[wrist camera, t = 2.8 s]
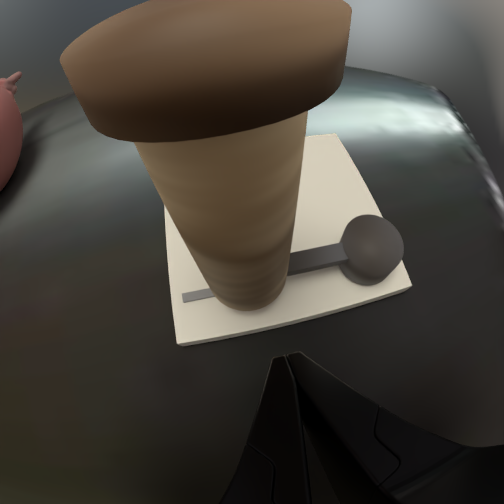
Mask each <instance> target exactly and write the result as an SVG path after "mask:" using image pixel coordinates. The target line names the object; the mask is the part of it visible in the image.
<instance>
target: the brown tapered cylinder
mask: <svg viewBox="0 0 504 504" xmlns="http://www.w3.org/2000/svg"><path fill="white" fill-rule="evenodd" d="M351 13H352V9H351V7H350V6H349V4H347V3H346V2H344V1H343V0H150V1H147V2H144V3H141V4H139V5H136V6H134V7H131V8H129V9H127V10H124V11H122V12H120V13H118V14H116V15H114V16H112V17H110V18H108V19H106V20H104V21H102V22H101V23H99V24H98V25H96V26H94V27H92V28H91V29H89V30H88V31H87V32H85V33H84V34H82V35H81V36H80V37H78V38H77V39H76V40H74V41H73V42H72V43H71V44H70V45H69V46H68V47H67V48H66V49H65V50H64V52H63V54H62V55H61V58H60V62H61V65H62V67H63V69H64V71H65V73H66V76H67V78H68V80H69V82H70V84H71V86H72V88H73V90H74V92H75V94H76V96H77V98H78V100H79V102H80V104H81V106H82V108H83V110H84V112H85V114H86V116H87V118H88V120H89V121H90V123H91V125H92V126H93V127H94V128H95V129H96V130H97V131H98V132H100V133H102V134H104V135H105V136H108V137H111V138H114V139H117V140H123V141H130V142H134V143H135V146H136V148H137V150H138V152H139V154H140V156H141V158H142V160H143V162H144V165H145V167H146V169H147V171H148V173H149V175H150V177H151V179H152V181H153V183H154V185H155V187H156V189H157V191H158V193H159V195H160V197H161V199H162V201H163V203H164V205H165V207H166V209H167V211H168V212H169V214H170V216H171V218H172V220H173V222H174V224H175V226H176V228H177V230H178V231H179V233H180V235H181V237H182V239H183V241H184V243H185V245H186V246H187V248H188V250H189V252H190V254H191V255H192V257H193V259H194V261H195V263H196V265H197V266H198V268H199V270H200V272H201V273H202V275H203V277H204V279H205V280H206V282H207V284H208V286H209V287H210V289H211V291H212V293H213V294H214V296H215V297H216V298H217V299H218V300H219V301H220V302H221V303H222V304H224V305H226V306H227V307H229V308H232V309H235V310H239V311H253V310H257V309H261V308H263V307H265V306H267V305H269V304H270V303H272V302H273V301H274V300H275V299H276V298H277V297H278V296H279V295H280V293H281V292H282V290H283V288H284V285H285V282H286V278H287V276H292V275H297V274H301V273H306V272H310V271H315V270H319V269H324V268H328V267H333V266H337V265H339V267H340V269H341V270H342V272H343V273H344V274H345V275H346V276H347V277H348V278H349V279H350V280H352V281H353V282H355V283H358V284H361V285H375V284H378V283H380V282H382V281H383V280H384V279H385V278H386V277H387V276H388V275H389V274H390V273H391V272H392V271H393V270H394V269H395V268H396V267H397V266H398V265H399V263H400V262H401V260H402V257H403V252H404V246H403V241H402V238H401V236H400V234H399V232H398V231H397V229H396V228H395V227H394V226H393V225H392V224H391V223H390V222H389V221H387V220H386V219H384V218H382V217H379V216H376V215H370V214H366V215H360V216H357V217H355V218H353V219H352V220H351V221H350V222H349V223H348V224H347V226H346V228H345V230H344V232H343V235H342V237H341V239H340V242H339V243H336V244H331V245H326V246H321V247H316V248H311V249H307V250H302V251H297V252H292V253H290V252H291V245H292V238H293V231H294V224H295V217H296V209H297V202H298V194H299V186H300V178H301V170H302V161H303V152H304V143H305V134H306V124H307V114H308V110H310V109H312V108H314V107H316V106H317V105H319V104H321V103H322V102H324V101H325V100H327V99H328V98H329V97H330V96H331V95H333V94H334V93H335V91H336V90H337V89H338V87H339V86H340V84H341V81H342V79H343V73H344V67H345V60H346V53H347V46H348V38H349V30H350V22H351Z"/></svg>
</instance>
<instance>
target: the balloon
mask: <svg viewBox="0 0 504 504" xmlns="http://www.w3.org/2000/svg"><path fill="white" fill-rule="evenodd" d="M21 76H22V73H21V72H17V73H15V74H13V75H12V76H10V77H9V78H8V79H5V78H1V79H0V191H1V190H2V189H3V188H4V186H5V185H6V184H7V182H8V181H9V179H10V177H11V176H12V174H13V172H14V170H15V167H16V165H17V162H18V159H19V156H20V152H21V147H22V140H23V125H22V118H21V114H20V111H19V108H18V106H17V104H16V102H15V100H14V94H15V93H16V91H17V87H16V86H15V83H16V82H17V81H18V79H20V78H21Z"/></svg>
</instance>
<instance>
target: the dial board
mask: <svg viewBox="0 0 504 504" xmlns="http://www.w3.org/2000/svg"><path fill="white" fill-rule="evenodd" d="M366 214H370V215H376V216H379V217H382V215H381V213H380V211H379V209H378V207H377V205H376V203H375V201H374V199H373V197H372V196H371V194H370V192H369V190H368V188H367V186H366V184H365V182H364V181H363V179H362V177H361V175H360V173H359V172H358V170H357V168H356V166H355V165H354V163H353V161H352V159H351V158H350V156H349V154H348V153H347V151H346V149H345V148H344V146H343V144H342V143H341V141H340V140H339V138H338V136H337V135H336V133H335V134H325V135H315V136H307V137H305V143H304V152H303V161H302V170H301V178H300V186H299V194H298V202H297V209H296V217H295V224H294V231H293V238H292V245H291V252H290V253H292V252H297V251H302V250H307V249H311V248H316V247H321V246H326V245H331V244H336V243H339V242H340V239H341V237H342V235H343V232H344V230H345V228H346V226H347V224H348V223H349V222H350V221H351V220H352V219H353V218H355V217H357V216H360V215H366ZM382 218H383V217H382ZM165 226H166V243H167V257H168V269H169V280H170V290H171V299H172V308H173V316H174V324H175V332H176V339H177V344H179V345H181V346H188V345H194V344H200V343H206V342H211V341H217V340H222V339H227V338H232V337H237V336H242V335H247V334H252V333H256V332H261V331H265V330H270V329H274V328H278V327H283V326H287V325H291V324H295V323H299V322H303V321H307V320H311V319H315V318H318V317H322V316H326V315H329V314H333V313H337V312H340V311H344V310H347V309H350V308H354V307H357V306H361V305H364V304H367V303H370V302H374V301H377V300H380V299H383V298H386V297H389V296H392V295H395V294H398V293H401V292H404V291H406V290H407V289H408V288H410V287H411V286H412V284H411V282H410V279H409V277H408V274H407V271H406V269H405V267H404V264H403V262H402V260H401V262H400V263H399V265H398V266H397V267H396V268H395V269H394V270H393V271H392V272H391V273H390V274H389V275H388V276H387V277H386V278H385V279H384V280H383V281H382V282H380V283H378V284H375V285H361V284H358V283H355V282H353V281H352V280H350V279H349V278H348V277H347V276H346V275H345V274H344V273H343V272H342V270H341V269H340V267H339V265H337V266H333V267H328V268H324V269H319V270H315V271H310V272H306V273H301V274H297V275H292V276H287V278H286V282H285V285H284V288H283V290H282V292H281V293H280V295H279V296H278V297H277V298H276V299H275V300H274V301H273V302H272V303H270V304H269V305H267V306H265V307H263V308H261V309H257V310H253V311H239V310H235V309H232V308H229V307H227V306H226V305H224V304H222V303H221V302H220V301H219V300H218V299H217V298H216V297H215V296H214V294H213V293H212V291H211V289H210V287H209V286H208V284H207V282H206V280H205V279H204V277H203V275H202V273H201V272H200V270H199V268H198V266H197V265H196V263H195V261H194V259H193V257H192V255H191V254H190V252H189V250H188V248H187V246H186V245H185V243H184V241H183V239H182V237H181V235H180V233H179V231H178V230H177V228H176V226H175V224H174V222H173V220H172V218H171V216H170V214H169V212H168V211H167V209H166V207H165Z"/></svg>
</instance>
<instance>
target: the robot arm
mask: <svg viewBox="0 0 504 504" xmlns="http://www.w3.org/2000/svg"><path fill="white" fill-rule="evenodd" d="M302 422H303V424H304V426H305V429H306V431H307V433H308V435H309V437H310V440H311V442H312V444H313V446H314V448H315V451H316V453H317V455H318V457H319V459H320V461H321V464H322V466H323V468H324V470H325V472H326V474H327V476H328V479H329V481H330V483H331V485H332V487H333V489H334V491H335V493H336V495H337V498H338V500H339V502H340V504H504V445H497V446H490V447H469V446H465V445H461V444H458V443H455V442H453V441H450V440H447V439H445V438H442V437H440V436H438V435H435V434H433V433H430V432H428V431H425V430H423V429H421V428H419V427H417V426H414V425H412V424H410V423H408V422H406V421H404V420H402V419H401V418H399V417H397V416H396V415H394V414H392V413H390V412H389V411H387V410H386V409H384V408H383V407H379V405H378V404H376V403H375V402H373V401H372V400H370V399H369V398H367V397H365V396H364V395H362V394H361V393H359V392H358V391H356V390H355V389H353V388H352V387H350V386H349V385H347V384H346V383H344V382H343V381H342V380H340V379H339V378H337V377H336V376H334V375H333V374H331V373H330V372H328V371H327V370H326V369H324V368H323V367H321V366H320V365H318V364H317V363H316V362H314V361H313V360H311V359H310V358H309V357H307V356H306V355H304V354H303V353H302V352H294V353H290V354H287V356H285V355H282V356H278V357H274V358H272V360H271V363H270V367H269V370H268V374H267V377H266V381H265V384H264V387H263V391H262V394H261V398H260V401H259V404H258V407H257V411H256V414H255V417H254V420H253V424H252V427H251V430H250V433H249V436H248V439H247V442H246V444H247V445H246V446H245V448H244V451H243V454H242V457H241V459H240V462H239V465H238V467H237V470H236V472H235V474H234V476H233V478H232V480H231V482H230V484H229V486H228V488H227V490H226V492H225V494H224V495H223V497H222V499H221V501H220V502H219V504H312V501H311V491H310V482H309V474H308V465H307V457H306V449H305V441H304V433H303V425H302Z"/></svg>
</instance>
